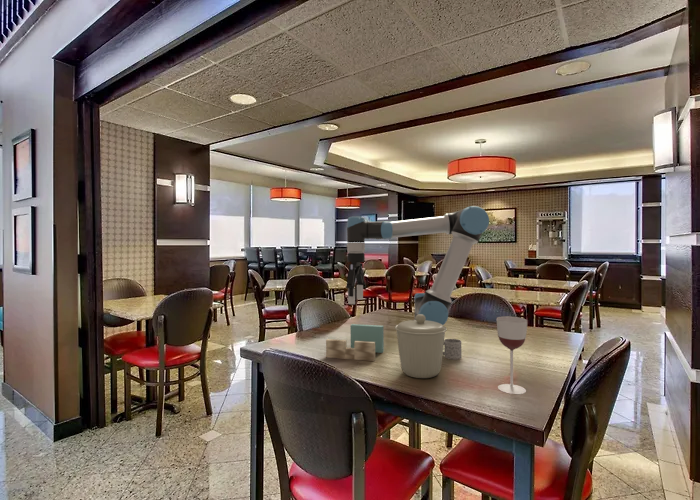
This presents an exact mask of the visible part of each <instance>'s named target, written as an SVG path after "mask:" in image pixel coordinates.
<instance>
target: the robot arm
mask: <svg viewBox="0 0 700 500" xmlns="http://www.w3.org/2000/svg"><path fill="white" fill-rule="evenodd" d="M365 219H366V218H365V217H364V216H349V217H348V218H347V223H346V225H347V226H346V235H347V236H346V239H347V240H346V241H347V242H346V243H347V244H346V245H345V248H346V249H347V252H348V253H347V254H346V256H347V257H346V261H347V262H349V263H351V264H348V272H347V279H346V280H347V283H346V286H345V288H346V289H348V291H347V292H348V295H347V302H348V303H347V304H348V305H356V300H364V285H365V284H366V283H365V278H364V277H365V276H364V271H363V262H365V260H366V258H365V253H364V252H365V251H366V249H365V247H366V245H365V240H366V239H368V240H369V239H371V240H390V239H393V238H394V239H395V238H402V237H412V236H423V235H435V234H442V233H443V234H444V233H445V234H446V235H452V239H451V242H450V244H449V247H448V249H447V251H446V253H445V256H444V258H443V259H442V263H441V265H440V268H439V270H438V272H437V274H436V276H435V278H434V281H433V284H432V286H431V288H429V289H427V290H425V292H422V293H421V292H420V293H419V292H418V293H415V294H414V299H413V300H414V320H416V319H415V317H416V315H418V314H422V315H424V316H425V318H426V319H425V320H428V321H434V322H438V323H440V324H442V325H443V326H445V324H446V323H447V321H448V318H449V310H450V308H451V306H452V303H453V302H452V299H451V296H452V294H453V291H454V289H455V287H456V284H457V282H458V280H459V277H460V274H461V272H462V270H463V268H464V266H465V264H466V262H467V259H468V257H469V255H470V252H471V250H472V248H473V246H474V245H475V244H478V243H479V241H480V238H481V236H482V234H483V233H485V231H487V229H488V227H489V224H490V217H489V215H488V212H487V211H486V210H485V209H484V208H482V207H481V206H478V205H477V206H476V205H471V206H467V207H465V208H463V209H460V210H457V211H454V212H449V213H445V214H444V215H443V216H442V215H440V216H431V217H423V218H422V217H421V218H414V219H413V218H411V219H405V220H404V219H403V220H396V221H387V220H383V221H382V220H380V221H366V220H365ZM356 284H357V285H356ZM355 285H356V288H355Z"/></svg>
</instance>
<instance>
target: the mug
mask: <svg viewBox="0 0 700 500" xmlns="http://www.w3.org/2000/svg"><path fill="white" fill-rule="evenodd" d="M462 353H463V352H462V340H461V339H457V338H446V339H445V338H444V346H443V355H442V356H444V358H445V359H447V360H461V359H462V355H463V354H462Z"/></svg>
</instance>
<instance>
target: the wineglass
mask: <svg viewBox="0 0 700 500" xmlns="http://www.w3.org/2000/svg"><path fill="white" fill-rule="evenodd" d="M527 329H528V320H527V318H526V319H525V318H524V317H518V316H508V315H506V316H503V315H502V316H497V317H496V330H497V337H498V340H499V341H500V343H501V344H502V345H503V346H504V347H505V348H507V349H509V351H510V352H509V361H510V362H509V364H510V365H509V366H510V367H509V368H510V369H509V372H510V373H509V375H510V377H509V379H510V383H502V384H499V385H498V386H497V389H498V390H500V391H501V392H503V393H507V394H511V395H522V394H525V393H526V392H527V390H526V388H524V387H523V386H520V385H517V384H514V350H516V349H518V348H519V349H520V347H522V346H523V345H524V344H525V341H526V338H527V331H528V330H527Z"/></svg>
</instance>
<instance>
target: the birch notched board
mask: <svg viewBox="0 0 700 500" xmlns="http://www.w3.org/2000/svg"><path fill="white" fill-rule="evenodd" d="M347 343H348V342H347V339H335V338H326V340H325V353H326V355H325V357H326V358H331V359H343V360H344V359H345V360H357V361H358V360H359V361H366V362H367V361H370V362H375V361H376V352H375V342H367V341H355V342H354V348H351V347H347Z"/></svg>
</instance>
